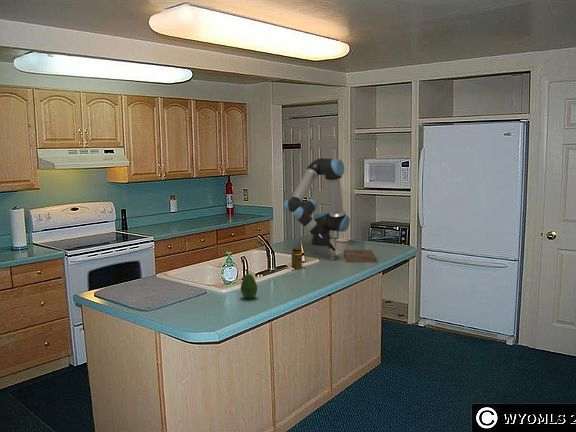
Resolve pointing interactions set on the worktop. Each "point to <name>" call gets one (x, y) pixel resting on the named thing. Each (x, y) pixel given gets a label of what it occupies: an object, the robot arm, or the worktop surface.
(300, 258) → the condiment
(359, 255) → the walnut hole block
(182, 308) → the worktop surface
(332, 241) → the birch pin
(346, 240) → the teacup with lid
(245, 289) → the avocado
